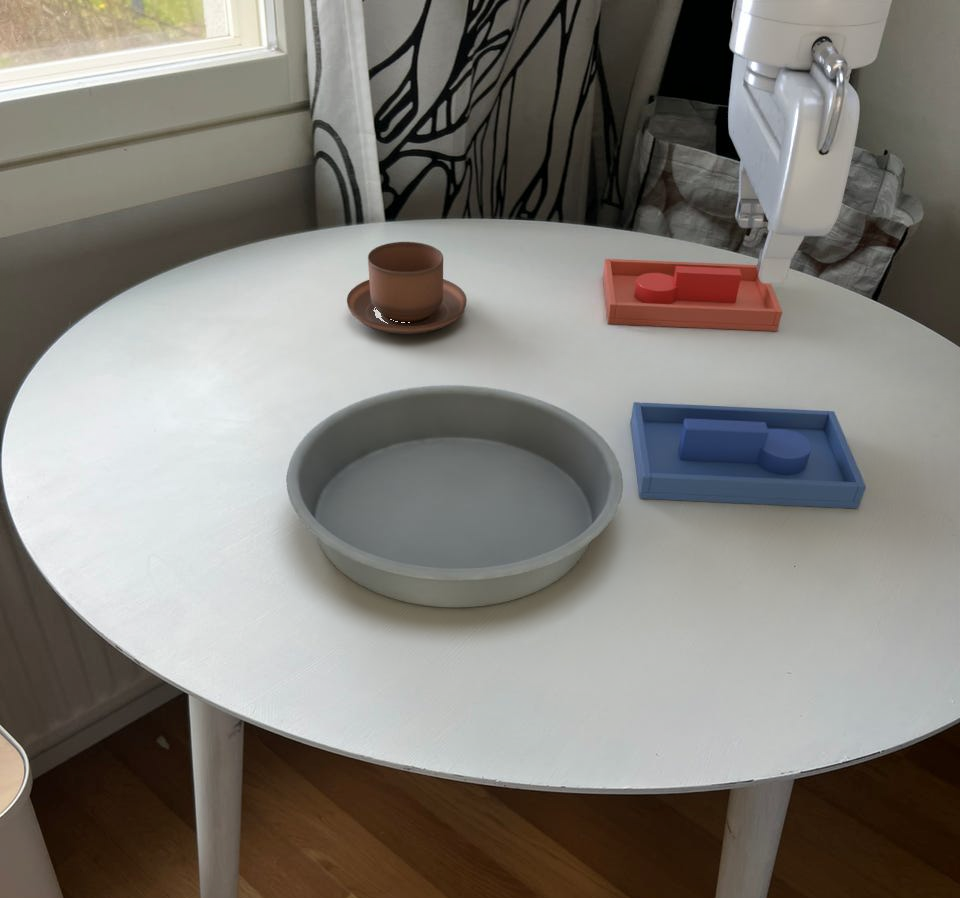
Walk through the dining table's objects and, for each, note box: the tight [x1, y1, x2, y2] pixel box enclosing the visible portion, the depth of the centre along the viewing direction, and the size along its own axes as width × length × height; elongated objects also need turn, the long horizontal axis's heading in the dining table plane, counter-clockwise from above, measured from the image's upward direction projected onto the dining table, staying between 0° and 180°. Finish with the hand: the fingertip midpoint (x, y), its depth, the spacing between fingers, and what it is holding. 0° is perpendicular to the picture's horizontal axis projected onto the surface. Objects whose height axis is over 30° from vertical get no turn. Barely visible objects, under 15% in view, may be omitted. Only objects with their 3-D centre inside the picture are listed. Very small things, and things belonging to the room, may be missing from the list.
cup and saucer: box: [346, 241, 468, 335], centre depth 94 cm, size 12×12×6 cm
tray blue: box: [630, 401, 867, 510], centre depth 78 cm, size 17×11×2 cm, turn 87°
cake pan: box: [285, 384, 624, 608], centre depth 71 cm, size 25×25×4 cm
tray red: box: [602, 258, 783, 332], centre depth 100 cm, size 17×11×2 cm, turn 87°
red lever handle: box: [635, 266, 742, 304], centre depth 99 cm, size 10×4×3 cm, turn 87°
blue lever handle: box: [678, 418, 812, 475], centre depth 77 cm, size 10×4×3 cm, turn 87°
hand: (758, 251), depth 67 cm, fingers open, 8 cm apart
